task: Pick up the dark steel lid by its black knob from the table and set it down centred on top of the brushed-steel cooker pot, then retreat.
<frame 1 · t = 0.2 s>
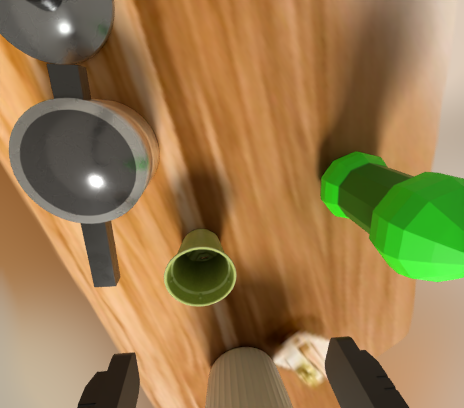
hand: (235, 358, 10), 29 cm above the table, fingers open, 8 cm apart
cooker pot: (110, 151, 34), on the table
plant pot: (201, 243, 41), on the table
canister: (241, 363, 53), on the table
plastic bottle: (340, 178, 40), on the table
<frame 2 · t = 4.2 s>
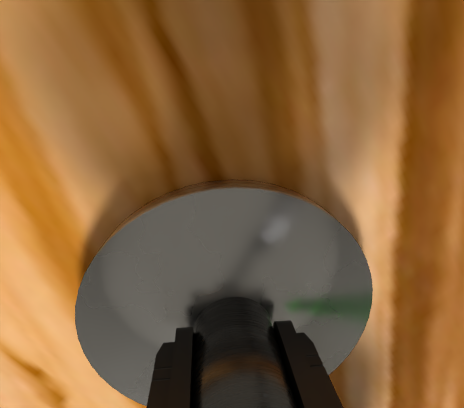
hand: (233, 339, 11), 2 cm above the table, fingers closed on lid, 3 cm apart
lid: (229, 307, 13), on the table, touching gripper
when the fingers open (13 cm above the table, at t = 8.8 s): lid drops 2 cm, resting on cooker pot.
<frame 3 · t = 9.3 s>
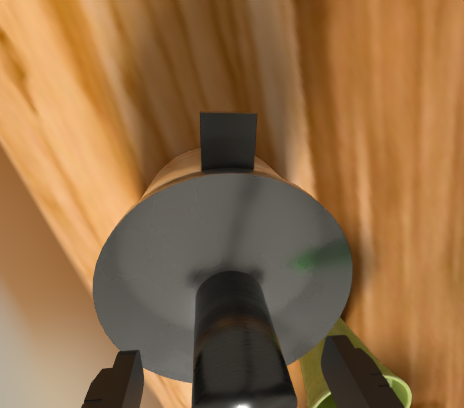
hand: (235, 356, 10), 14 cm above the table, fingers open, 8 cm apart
lid: (227, 283, 14), point 9 cm above the table, touching cooker pot
cooker pot: (217, 217, 23), on the table
plant pot: (317, 328, 30), on the table
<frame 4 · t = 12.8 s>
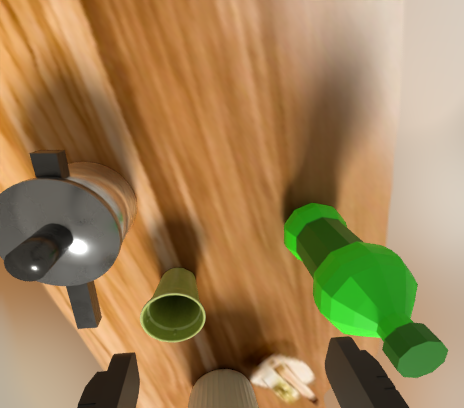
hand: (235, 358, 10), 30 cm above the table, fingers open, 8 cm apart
lid: (61, 232, 30), point 9 cm above the table, touching cooker pot
cooker pot: (92, 204, 38), on the table
plant pot: (178, 280, 45), on the table
canister: (220, 383, 57), on the table
plastic bottle: (304, 221, 43), on the table
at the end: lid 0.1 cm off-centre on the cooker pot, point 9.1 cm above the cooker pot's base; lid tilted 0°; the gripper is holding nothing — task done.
